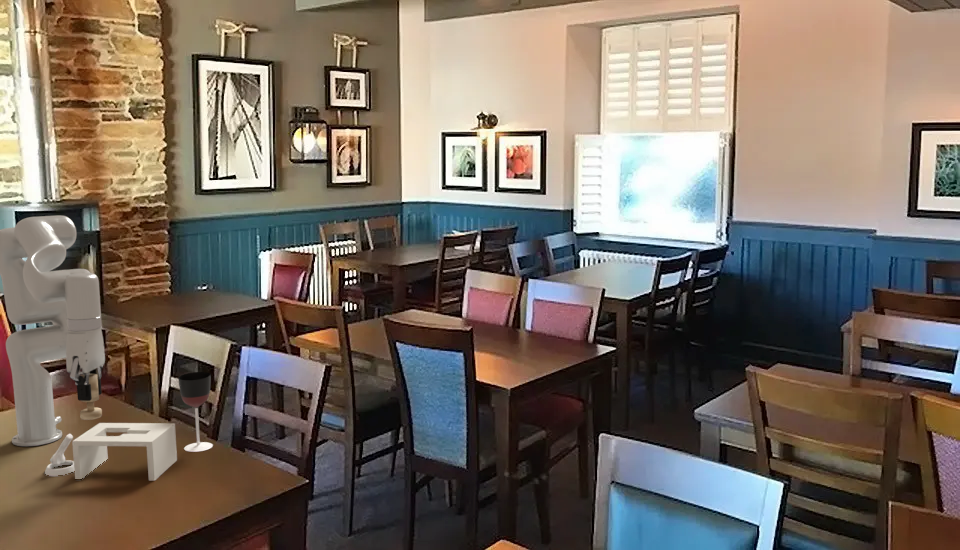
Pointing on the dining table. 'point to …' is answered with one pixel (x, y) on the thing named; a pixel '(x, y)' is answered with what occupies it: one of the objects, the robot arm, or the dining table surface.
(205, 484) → the dining table surface
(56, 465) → the hook
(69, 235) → the robot arm
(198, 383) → the wineglass
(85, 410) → the peg
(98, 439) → the keyhole shelf
